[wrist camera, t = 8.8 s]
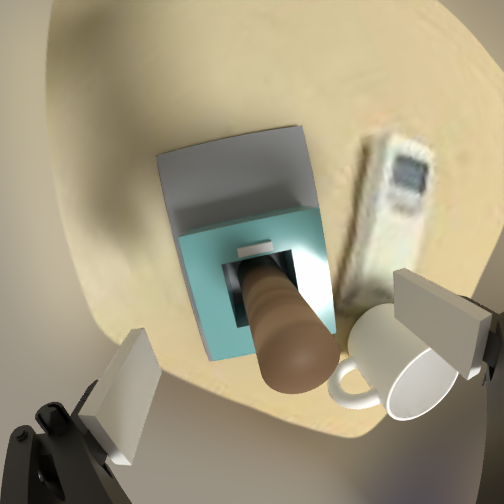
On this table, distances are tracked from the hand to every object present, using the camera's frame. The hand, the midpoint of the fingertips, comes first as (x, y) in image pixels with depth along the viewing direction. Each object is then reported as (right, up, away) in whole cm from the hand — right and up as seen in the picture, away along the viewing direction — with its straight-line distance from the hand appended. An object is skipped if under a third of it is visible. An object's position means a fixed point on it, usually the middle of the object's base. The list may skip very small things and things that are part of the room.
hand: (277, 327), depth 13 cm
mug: (+11, -6, +15) cm, 20 cm away
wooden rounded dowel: (-1, +2, +12) cm, 12 cm away
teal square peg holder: (-1, +2, +12) cm, 12 cm away
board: (-1, +4, +12) cm, 13 cm away
